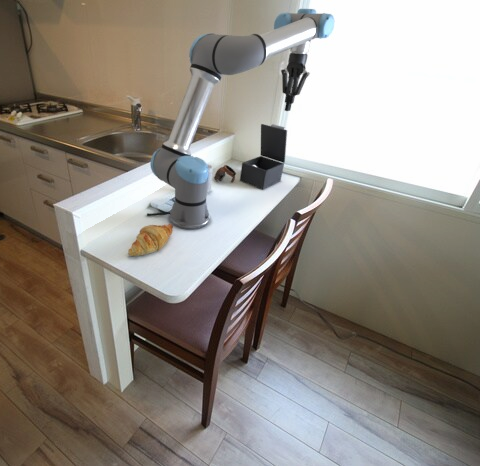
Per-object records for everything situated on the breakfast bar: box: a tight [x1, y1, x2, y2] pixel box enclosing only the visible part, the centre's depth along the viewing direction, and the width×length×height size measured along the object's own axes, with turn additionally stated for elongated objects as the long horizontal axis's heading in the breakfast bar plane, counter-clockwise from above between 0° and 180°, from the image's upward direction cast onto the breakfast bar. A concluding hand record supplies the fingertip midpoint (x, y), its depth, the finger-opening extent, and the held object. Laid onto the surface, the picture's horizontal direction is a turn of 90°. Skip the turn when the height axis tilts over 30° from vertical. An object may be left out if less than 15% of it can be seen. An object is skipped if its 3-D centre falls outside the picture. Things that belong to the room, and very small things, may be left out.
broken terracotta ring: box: [213, 164, 237, 183], centre depth 156 cm, size 12×10×8 cm
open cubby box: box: [239, 155, 285, 190], centre depth 157 cm, size 16×14×9 cm
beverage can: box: [207, 163, 214, 194], centre depth 143 cm, size 6×6×12 cm
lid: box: [260, 123, 288, 164], centre depth 154 cm, size 16×14×5 cm
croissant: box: [127, 223, 174, 257], centre depth 107 cm, size 21×10×8 cm, turn 145°
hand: (287, 110), depth 150 cm, fingers closed
